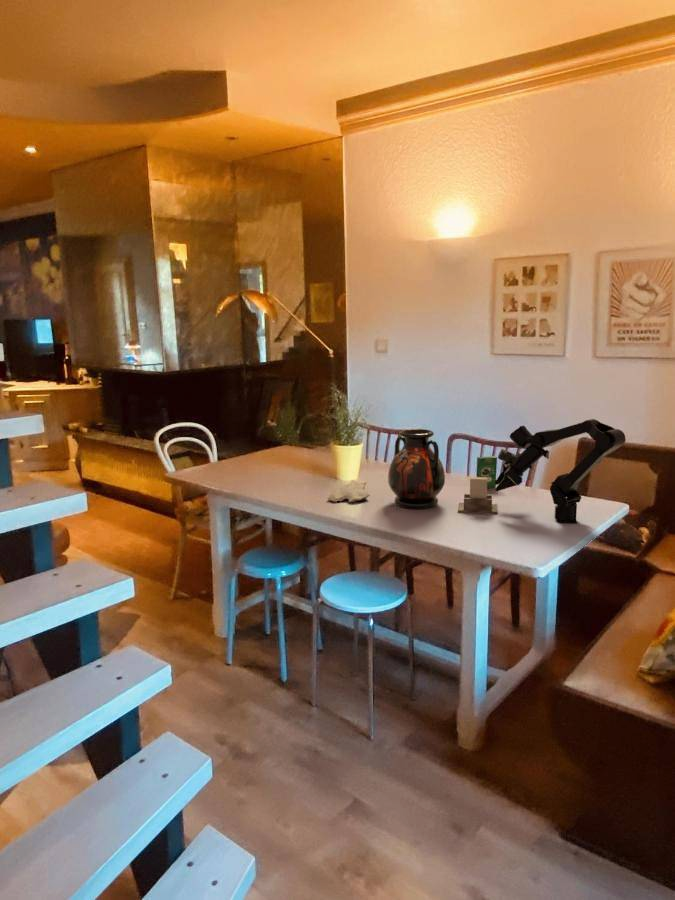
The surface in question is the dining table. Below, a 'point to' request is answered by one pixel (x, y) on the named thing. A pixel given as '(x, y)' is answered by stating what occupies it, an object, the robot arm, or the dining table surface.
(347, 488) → the rock
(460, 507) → the slot rack
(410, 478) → the amphora vase
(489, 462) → the coffee box
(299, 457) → the dining table surface
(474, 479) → the tan rectangular block
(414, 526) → the dining table surface
